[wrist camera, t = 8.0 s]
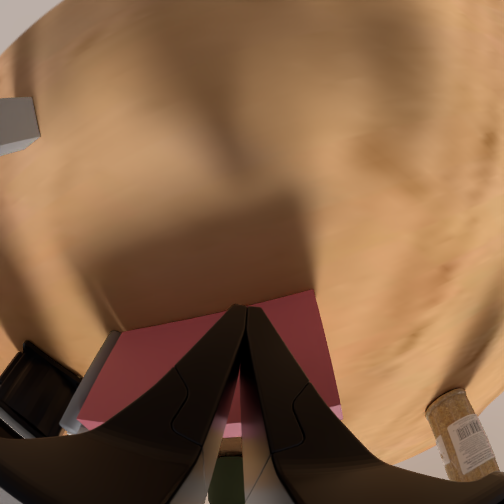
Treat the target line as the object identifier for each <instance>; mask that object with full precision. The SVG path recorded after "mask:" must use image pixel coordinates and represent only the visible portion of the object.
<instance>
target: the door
mask: <svg viewBox="0 0 504 504" xmlns="http://www.w3.org/2000/svg"><path fill="white" fill-rule="evenodd" d="M249 306H255V307H261V308H262V309H263V311H264V312H265V314H266V315H267V317H268V318H269V320H270V321H271V323H272V325H273V326H274V328H275V329H276V331H277V332H278V334H279V335H280V337H281V338H282V340H283V341H284V343H285V344H286V346H287V347H288V349H289V350H290V352H291V353H292V355H293V356H294V358H295V359H296V361H297V362H298V364H299V365H300V367H301V368H302V370H303V371H304V373H305V374H306V376H307V377H308V379H309V380H310V382H311V383H312V384H313V386H314V387H315V389H316V390H317V392H318V393H319V395H320V396H321V397H322V399H323V400H324V401H325V403H326V404H327V405H328V407H329V408H330V409H331V410H332V411H333V412H334V414H335V415H336V416H337V417H338V418H339V419H340V420H342V419H343V415H342V410H341V404H340V399H339V394H338V390H337V385H336V380H335V376H334V371H333V367H332V363H331V358H330V354H329V350H328V346H327V341H326V337H325V333H324V329H323V325H322V321H321V317H320V313H319V309H318V305H317V302H316V298H315V294H314V290H313V289H311V290H308V291H304V292H300V293H296V294H293V295H289V296H285V297H281V298H277V299H273V300H269V301H265V302H261V303H257V304H253V305H249ZM247 307H248V306H247ZM225 312H226V311H223V312H219V313H215V314H210V315H206V316H201V317H196V318H192V319H187V320H182V321H177V322H172V323H167V324H162V325H157V326H152V327H146V328H141V329H136V330H130V331H124V332H122V334H121V335H120V337H119V339H118V341H117V342H116V344H115V346H114V348H113V349H112V351H111V353H110V355H109V357H108V358H107V360H106V362H105V364H104V366H103V367H102V369H101V371H100V373H99V375H98V377H97V379H96V381H95V382H94V384H93V386H92V388H91V390H90V392H89V394H88V396H87V398H86V400H85V402H84V404H83V406H82V408H81V410H80V412H79V414H78V416H77V418H76V419H77V420H78V421H79V422H80V423H82V424H83V425H84V426H85V427H86V428H87V429H88V430H92V429H94V428H96V427H98V426H100V425H101V424H103V423H104V422H106V421H107V420H108V419H110V418H111V417H113V416H114V415H115V414H117V413H118V412H120V411H121V410H122V409H124V408H125V407H126V406H128V405H129V404H131V403H132V402H133V401H135V400H136V399H137V398H139V397H140V396H141V395H142V394H144V393H145V392H146V391H147V390H149V389H150V388H151V387H152V386H153V385H155V384H156V383H157V382H158V381H159V380H160V379H161V378H162V377H163V376H164V375H165V374H166V373H167V372H168V371H169V370H170V369H171V368H172V367H174V365H175V364H176V363H177V362H178V361H179V360H180V359H181V358H182V357H183V356H184V355H185V354H186V353H187V352H188V351H189V350H190V349H191V348H192V347H193V346H194V345H195V344H196V343H197V342H198V341H199V340H200V339H201V337H202V336H203V335H204V334H205V333H206V332H207V331H208V330H209V329H210V328H211V327H212V326H213V325H214V324H215V323H216V322H217V321H218V320H219V319H220V318H221V317H222V316H223V315H224V314H225ZM239 375H240V370H239ZM241 436H242V432H241V409H240V382H239V376H238V381H237V385H236V389H235V393H234V396H233V400H232V404H231V408H230V412H229V415H228V419H227V423H226V427H225V431H224V434H223V438H228V437H241Z"/></svg>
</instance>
